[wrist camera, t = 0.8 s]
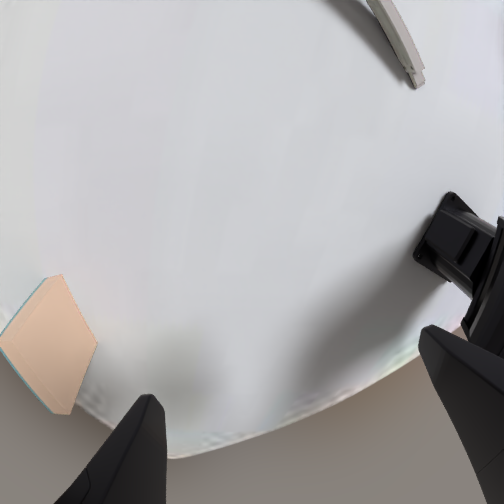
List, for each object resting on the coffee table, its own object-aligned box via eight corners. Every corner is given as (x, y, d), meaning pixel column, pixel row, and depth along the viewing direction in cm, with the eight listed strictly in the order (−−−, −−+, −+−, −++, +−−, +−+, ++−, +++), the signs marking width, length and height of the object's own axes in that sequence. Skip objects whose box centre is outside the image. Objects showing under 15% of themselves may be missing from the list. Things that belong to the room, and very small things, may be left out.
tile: (62, 274, 19) (11, 341, 12) (97, 342, 22) (70, 415, 15) (44, 278, 19) (-6, 341, 12) (80, 344, 22) (51, 413, 15)
